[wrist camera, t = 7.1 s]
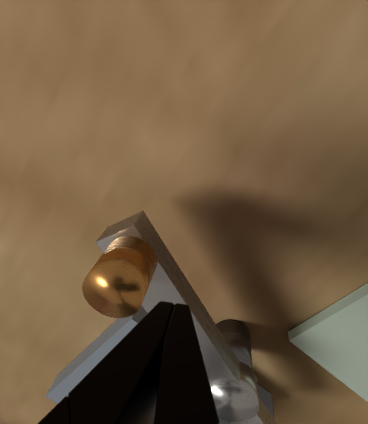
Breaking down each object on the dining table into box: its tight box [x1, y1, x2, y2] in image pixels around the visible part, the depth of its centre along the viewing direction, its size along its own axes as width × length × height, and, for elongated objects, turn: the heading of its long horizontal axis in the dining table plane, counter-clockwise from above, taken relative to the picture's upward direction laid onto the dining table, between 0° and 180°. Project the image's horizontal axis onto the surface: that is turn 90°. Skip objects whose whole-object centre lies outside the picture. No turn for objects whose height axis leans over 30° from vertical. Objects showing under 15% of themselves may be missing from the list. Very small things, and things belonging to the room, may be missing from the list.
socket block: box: [46, 305, 274, 424], centre depth 20 cm, size 11×11×2 cm
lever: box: [82, 211, 277, 424], centre depth 14 cm, size 3×15×6 cm, turn 29°
